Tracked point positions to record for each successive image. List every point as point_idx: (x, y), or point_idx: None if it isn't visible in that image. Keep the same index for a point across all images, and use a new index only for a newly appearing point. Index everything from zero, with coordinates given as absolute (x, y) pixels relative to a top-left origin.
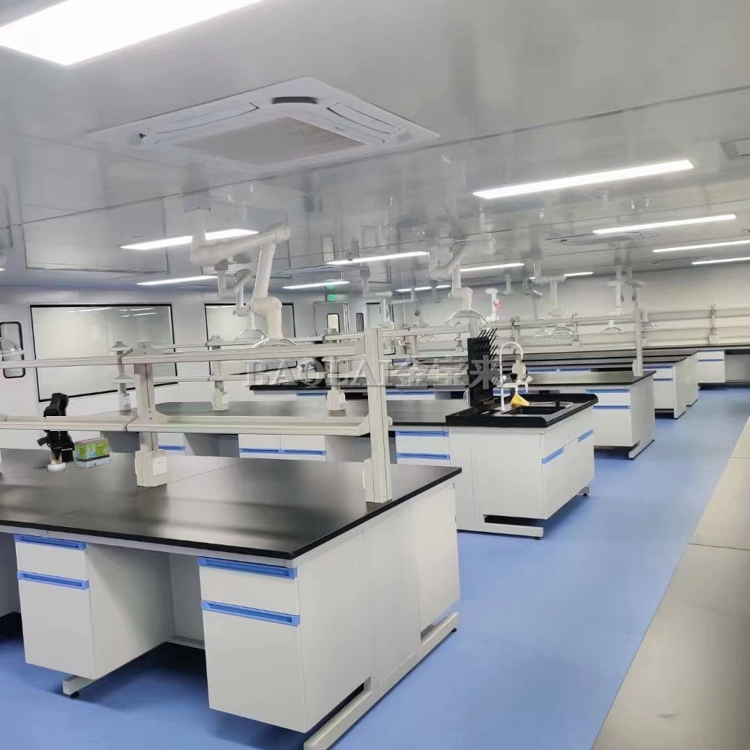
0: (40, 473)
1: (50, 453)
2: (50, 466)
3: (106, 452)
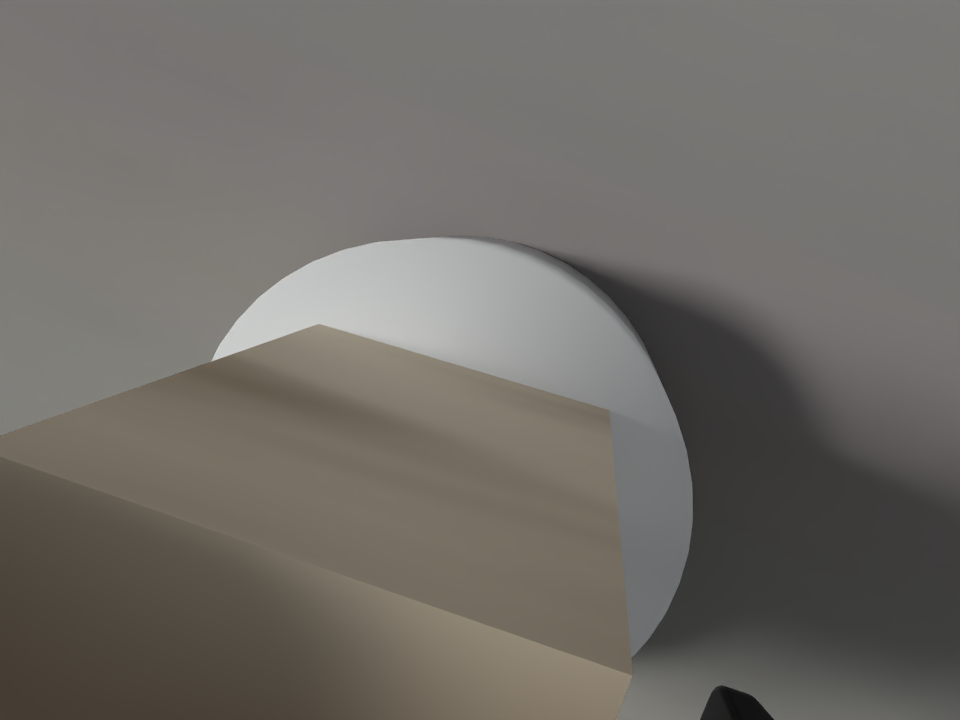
0: (519, 36)
1: (496, 658)
2: (314, 263)
3: None
